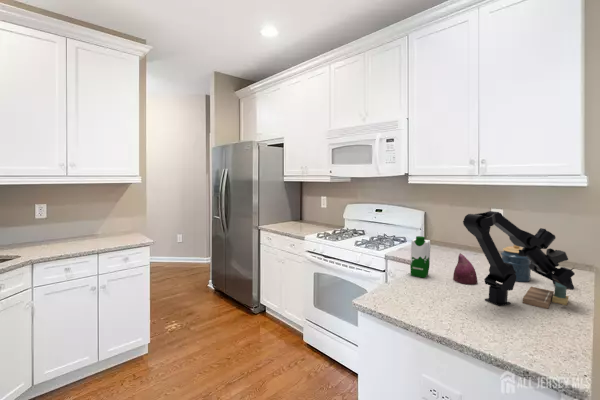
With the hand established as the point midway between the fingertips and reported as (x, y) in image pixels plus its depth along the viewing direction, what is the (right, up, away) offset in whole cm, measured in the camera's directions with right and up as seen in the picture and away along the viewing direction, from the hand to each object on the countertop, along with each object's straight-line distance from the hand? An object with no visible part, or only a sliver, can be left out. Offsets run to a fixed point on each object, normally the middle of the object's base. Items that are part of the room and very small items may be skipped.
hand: (564, 285), depth 127 cm
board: (-9, -6, +2) cm, 11 cm away
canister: (+1, -5, +31) cm, 31 cm away
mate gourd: (+15, -6, +19) cm, 25 cm away
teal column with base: (-2, -7, +1) cm, 7 cm away
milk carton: (-47, -4, +32) cm, 57 cm away
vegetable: (-28, -5, +24) cm, 37 cm away
